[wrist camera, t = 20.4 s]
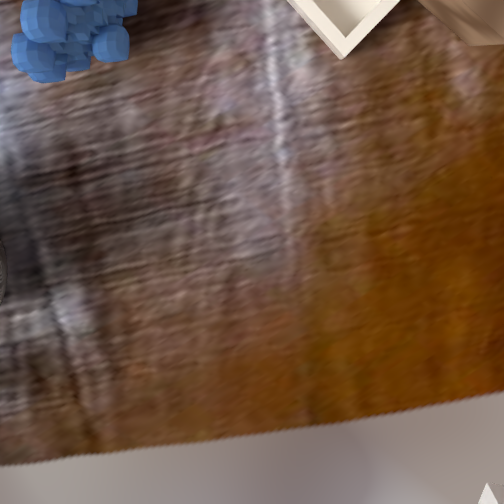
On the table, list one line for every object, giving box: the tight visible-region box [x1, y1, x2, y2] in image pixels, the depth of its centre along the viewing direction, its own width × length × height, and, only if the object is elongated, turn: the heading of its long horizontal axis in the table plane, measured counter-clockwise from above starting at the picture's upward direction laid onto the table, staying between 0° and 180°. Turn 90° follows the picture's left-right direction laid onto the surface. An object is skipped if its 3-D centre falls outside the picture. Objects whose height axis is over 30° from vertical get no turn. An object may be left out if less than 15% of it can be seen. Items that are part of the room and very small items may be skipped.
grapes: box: [11, 0, 138, 83], centre depth 35 cm, size 12×7×12 cm, turn 138°
